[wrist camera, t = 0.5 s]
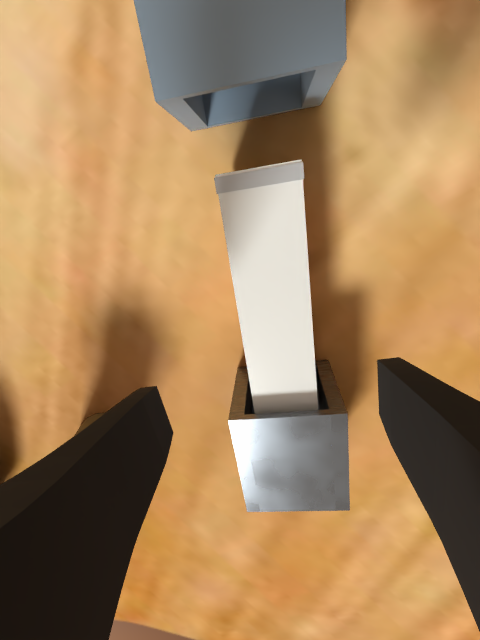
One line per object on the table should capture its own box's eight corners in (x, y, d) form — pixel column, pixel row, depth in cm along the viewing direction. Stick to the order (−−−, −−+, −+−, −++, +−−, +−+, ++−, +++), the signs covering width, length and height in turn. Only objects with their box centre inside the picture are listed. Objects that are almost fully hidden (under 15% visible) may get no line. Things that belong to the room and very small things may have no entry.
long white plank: (295, 166, 15) (302, 159, 11) (316, 456, 22) (325, 502, 18) (225, 179, 15) (213, 175, 12) (268, 458, 22) (268, 503, 19)
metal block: (328, 359, 19) (347, 413, 15) (332, 441, 22) (349, 510, 17) (237, 367, 20) (228, 420, 15) (251, 445, 23) (247, 511, 18)
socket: (314, -22, 13) (343, -156, 8) (320, 105, 14) (346, 59, 9) (170, 16, 13) (116, -83, 9) (191, 131, 15) (155, 101, 10)
